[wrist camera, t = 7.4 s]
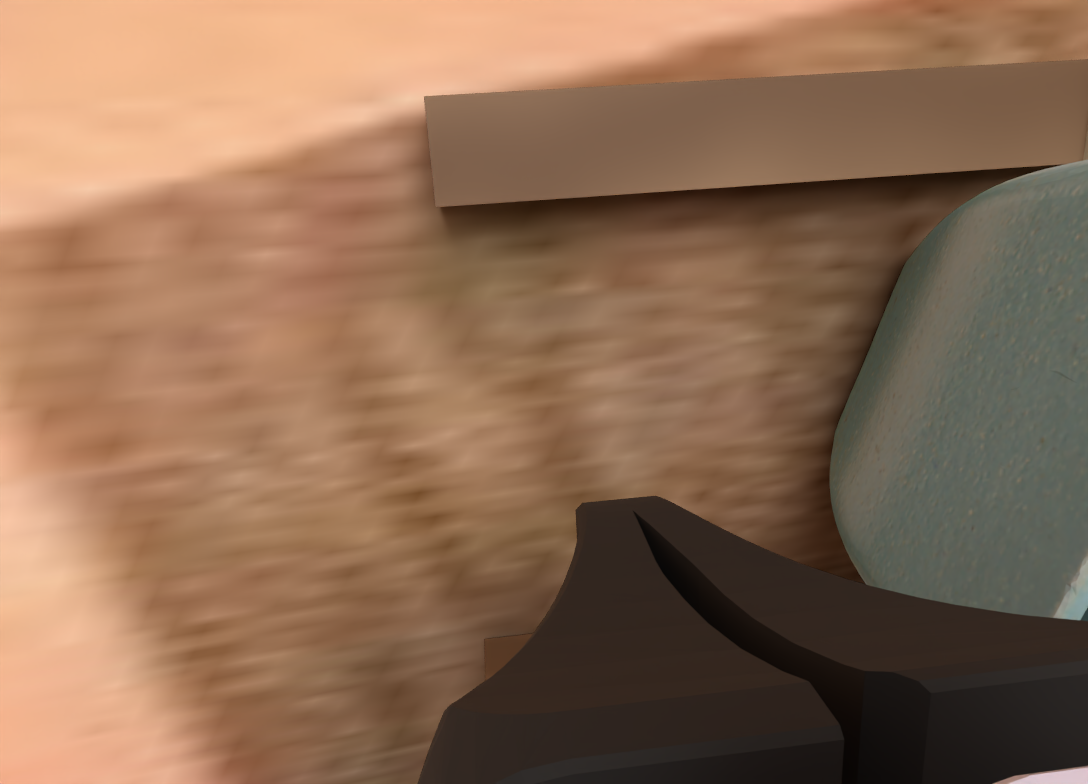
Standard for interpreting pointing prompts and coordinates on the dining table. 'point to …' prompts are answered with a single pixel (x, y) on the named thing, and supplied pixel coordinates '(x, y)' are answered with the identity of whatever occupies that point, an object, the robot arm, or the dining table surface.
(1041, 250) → the flower pot
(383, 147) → the dining table surface
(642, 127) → the wooden frame
